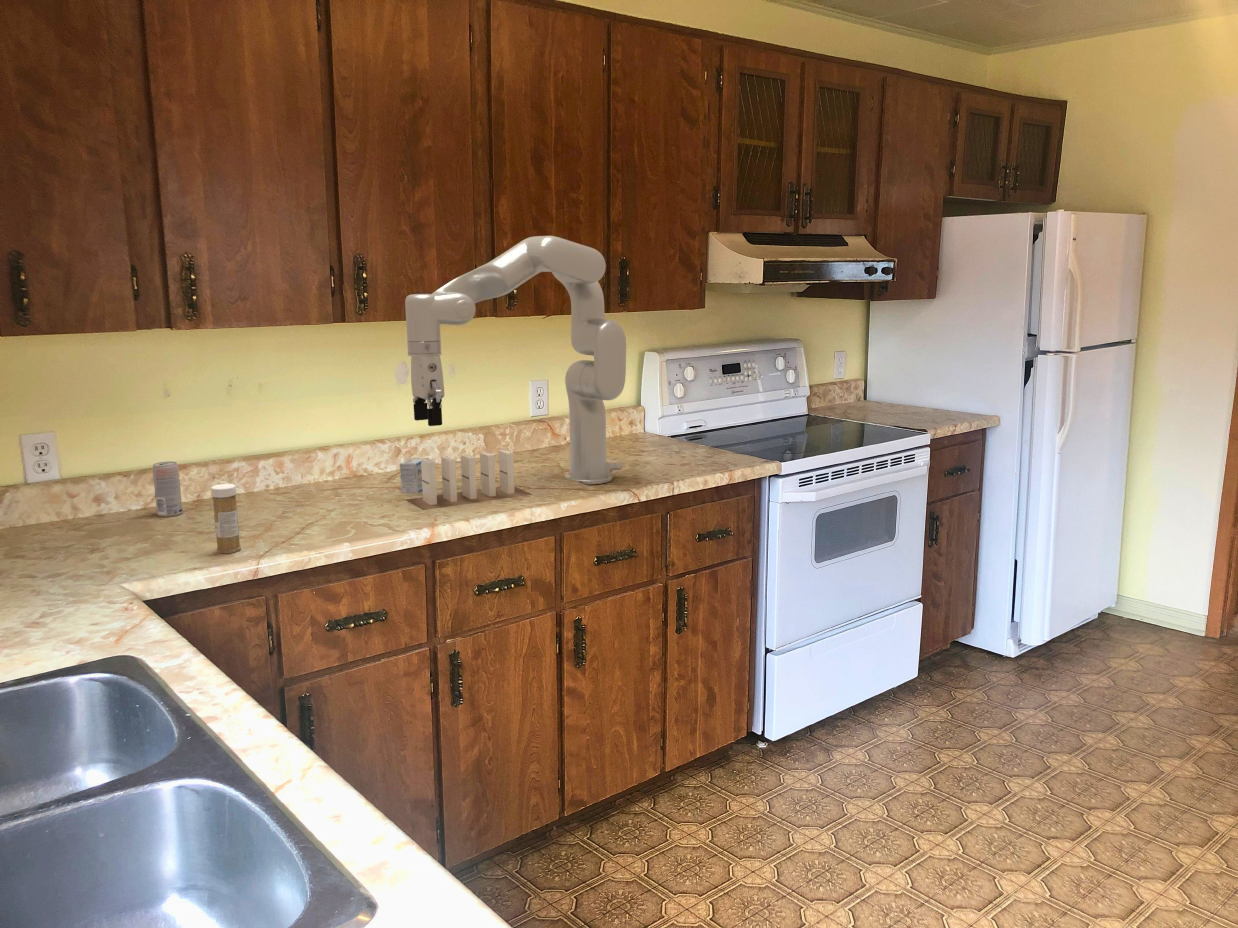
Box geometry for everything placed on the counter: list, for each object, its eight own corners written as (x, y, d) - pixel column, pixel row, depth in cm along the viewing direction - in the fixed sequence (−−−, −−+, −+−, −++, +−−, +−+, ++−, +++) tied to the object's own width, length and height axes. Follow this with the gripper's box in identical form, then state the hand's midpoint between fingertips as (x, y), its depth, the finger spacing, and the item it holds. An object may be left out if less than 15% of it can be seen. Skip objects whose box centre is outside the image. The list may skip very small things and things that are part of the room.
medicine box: (418, 498, 237) (416, 463, 235) (401, 497, 238) (399, 463, 236) (430, 491, 245) (429, 457, 243) (414, 490, 245) (412, 457, 244)
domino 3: (468, 494, 235) (467, 454, 233) (477, 498, 231) (475, 457, 229) (461, 495, 234) (460, 454, 232) (470, 499, 230) (468, 458, 228)
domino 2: (449, 497, 233) (447, 456, 231) (457, 501, 228) (455, 459, 226) (442, 497, 232) (440, 457, 230) (450, 502, 227) (448, 460, 225)
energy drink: (177, 510, 227) (172, 460, 224) (186, 514, 223) (181, 463, 221) (153, 514, 223) (148, 463, 221) (162, 518, 219) (156, 467, 217)
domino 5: (506, 489, 240) (504, 449, 238) (514, 493, 236) (513, 452, 234) (499, 490, 239) (498, 450, 237) (508, 493, 235) (506, 453, 233)
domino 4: (487, 491, 238) (486, 451, 236) (496, 495, 234) (494, 455, 232) (480, 492, 237) (479, 452, 235) (489, 496, 233) (487, 455, 231)
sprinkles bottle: (218, 548, 195) (212, 483, 192) (242, 546, 196) (236, 482, 194) (215, 555, 191) (209, 488, 188) (239, 553, 192) (234, 487, 189)
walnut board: (511, 489, 245) (511, 485, 245) (532, 498, 235) (532, 494, 235) (405, 504, 231) (405, 499, 230) (423, 514, 221) (422, 509, 220)
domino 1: (429, 499, 230) (427, 458, 228) (437, 503, 226) (435, 462, 224) (422, 500, 229) (420, 459, 227) (430, 504, 225) (428, 463, 223)
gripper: (453, 350, 215) (456, 426, 218) (427, 345, 230) (431, 416, 233) (420, 352, 211) (424, 429, 215) (396, 347, 226) (400, 419, 229)
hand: (428, 422), depth 224 cm, fingers open, 9 cm apart
